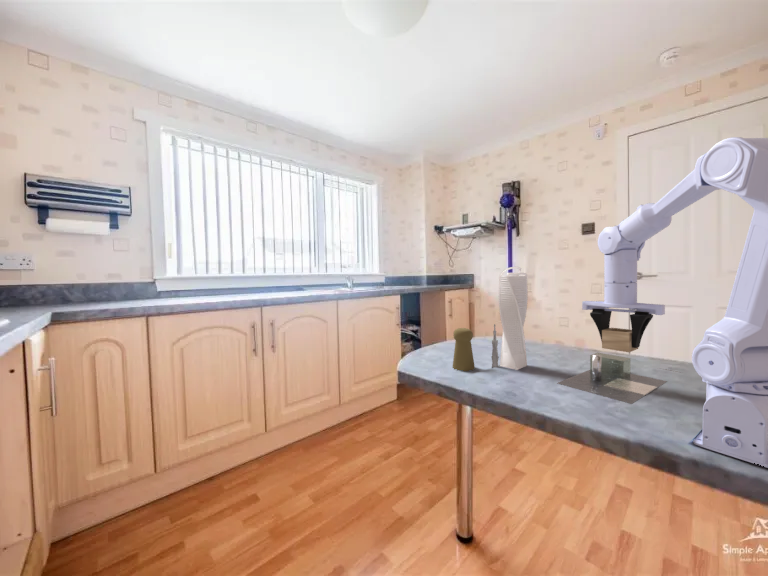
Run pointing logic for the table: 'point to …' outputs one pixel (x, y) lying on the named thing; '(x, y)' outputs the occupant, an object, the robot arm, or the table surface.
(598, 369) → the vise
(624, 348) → the wooden box
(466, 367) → the cork
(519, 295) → the skyscraper
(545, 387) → the table surface
